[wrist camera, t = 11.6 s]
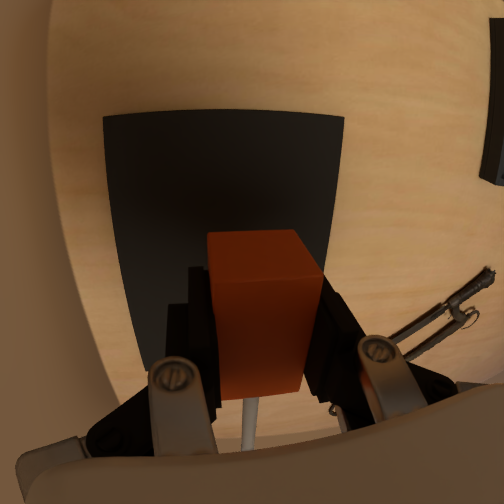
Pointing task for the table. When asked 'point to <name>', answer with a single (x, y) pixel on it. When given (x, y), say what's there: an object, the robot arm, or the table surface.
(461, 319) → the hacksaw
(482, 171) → the tray
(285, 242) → the screwdriver
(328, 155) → the mat
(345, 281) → the table surface
